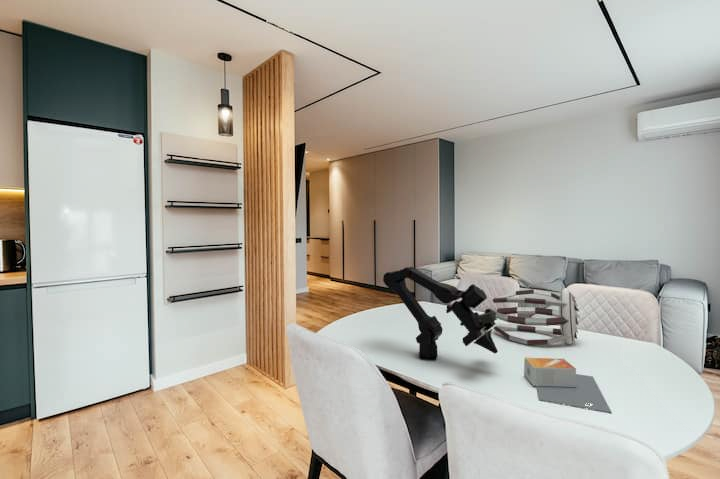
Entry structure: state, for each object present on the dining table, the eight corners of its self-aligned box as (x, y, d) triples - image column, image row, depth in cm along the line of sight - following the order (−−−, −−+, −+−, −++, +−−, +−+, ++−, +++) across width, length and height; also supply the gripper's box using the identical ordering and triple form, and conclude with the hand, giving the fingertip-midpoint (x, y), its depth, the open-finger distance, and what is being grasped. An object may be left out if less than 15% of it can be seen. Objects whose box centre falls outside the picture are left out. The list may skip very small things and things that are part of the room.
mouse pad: (538, 400, 103) (538, 399, 103) (533, 368, 125) (533, 367, 125) (611, 413, 96) (611, 412, 96) (592, 377, 118) (592, 376, 118)
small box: (524, 357, 119) (563, 358, 118) (523, 375, 119) (563, 376, 118) (533, 367, 111) (576, 368, 110) (533, 386, 111) (576, 388, 110)
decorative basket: (578, 355, 135) (487, 343, 156) (583, 337, 157) (502, 329, 178) (575, 293, 135) (484, 290, 156) (580, 284, 157) (499, 282, 178)
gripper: (472, 307, 115) (506, 348, 108) (490, 297, 129) (521, 332, 123) (449, 326, 120) (480, 366, 114) (469, 314, 135) (498, 349, 128)
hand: (496, 352), depth 120 cm, fingers closed
